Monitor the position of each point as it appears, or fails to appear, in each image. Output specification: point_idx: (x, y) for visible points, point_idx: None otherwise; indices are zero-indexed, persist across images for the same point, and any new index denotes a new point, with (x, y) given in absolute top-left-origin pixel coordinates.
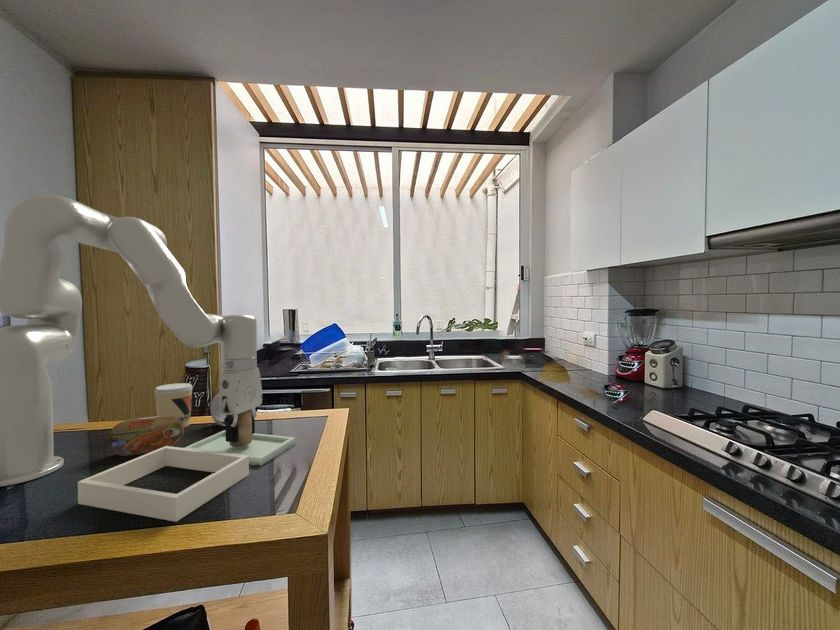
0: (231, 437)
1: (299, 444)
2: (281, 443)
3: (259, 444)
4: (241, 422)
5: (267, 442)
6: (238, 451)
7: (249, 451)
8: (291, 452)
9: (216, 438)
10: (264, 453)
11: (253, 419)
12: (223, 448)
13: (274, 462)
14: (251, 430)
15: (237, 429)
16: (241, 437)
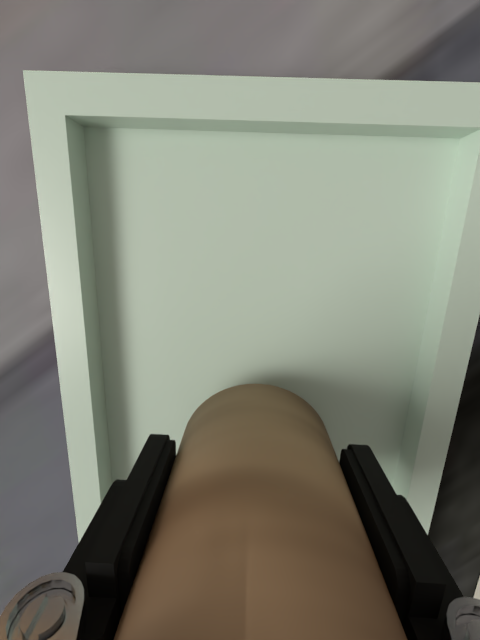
0: (408, 506)
1: (48, 62)
2: (124, 186)
3: (188, 342)
4: (383, 602)
5: (140, 309)
6: (324, 400)
7: (313, 331)
8: (209, 28)
9: None
10: (333, 196)
11: (113, 555)
12: None
13: (407, 52)
14: (220, 444)
15: (405, 537)
16: (327, 449)
